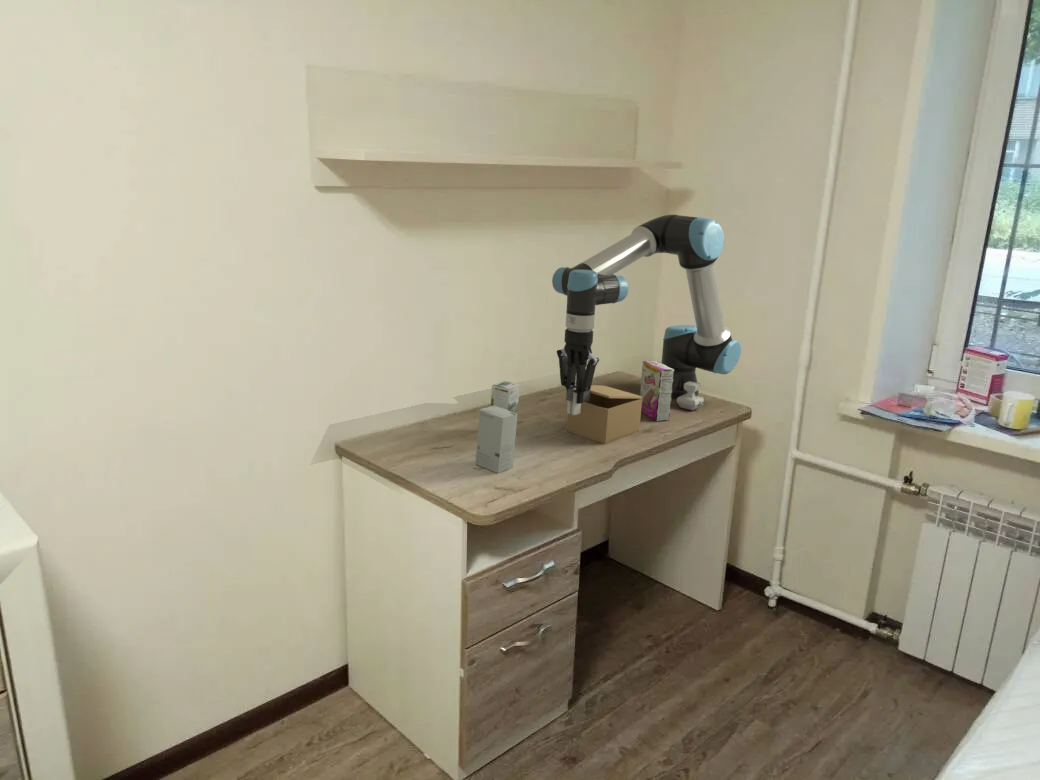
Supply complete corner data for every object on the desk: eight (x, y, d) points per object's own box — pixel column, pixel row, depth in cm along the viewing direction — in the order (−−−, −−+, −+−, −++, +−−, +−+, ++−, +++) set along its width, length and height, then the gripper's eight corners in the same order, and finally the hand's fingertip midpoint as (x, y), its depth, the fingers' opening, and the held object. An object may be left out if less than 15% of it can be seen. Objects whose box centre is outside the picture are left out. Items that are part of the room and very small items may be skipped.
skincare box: (474, 464, 200) (476, 409, 196) (491, 458, 205) (493, 404, 200) (499, 474, 195) (501, 417, 191) (515, 468, 199) (518, 412, 195)
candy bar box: (637, 410, 250) (642, 360, 245) (651, 409, 251) (656, 359, 247) (655, 422, 240) (661, 369, 235) (669, 420, 242) (675, 369, 237)
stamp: (672, 407, 255) (674, 382, 252) (681, 403, 260) (683, 378, 258) (698, 413, 250) (701, 388, 247) (706, 409, 255) (709, 384, 253)
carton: (601, 419, 240) (603, 387, 237) (639, 431, 230) (642, 399, 228) (566, 430, 228) (569, 397, 225) (605, 444, 219) (608, 409, 216)
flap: (602, 395, 237) (604, 385, 237) (640, 406, 228) (642, 396, 228) (548, 394, 218) (550, 383, 218) (587, 406, 209) (589, 395, 209)
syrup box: (499, 428, 227) (501, 379, 223) (517, 432, 225) (519, 383, 220) (488, 433, 223) (490, 384, 218) (506, 438, 220) (509, 388, 216)
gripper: (550, 326, 212) (545, 409, 219) (591, 335, 203) (584, 422, 210) (568, 322, 217) (563, 404, 224) (609, 332, 208) (602, 416, 215)
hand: (573, 413), depth 217 cm, fingers closed on flap
